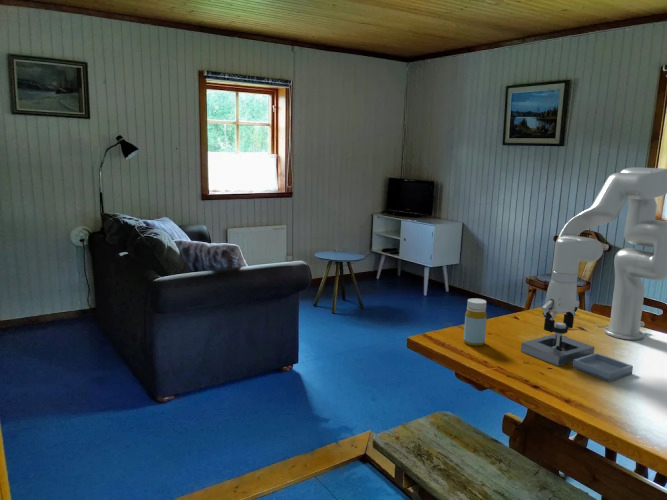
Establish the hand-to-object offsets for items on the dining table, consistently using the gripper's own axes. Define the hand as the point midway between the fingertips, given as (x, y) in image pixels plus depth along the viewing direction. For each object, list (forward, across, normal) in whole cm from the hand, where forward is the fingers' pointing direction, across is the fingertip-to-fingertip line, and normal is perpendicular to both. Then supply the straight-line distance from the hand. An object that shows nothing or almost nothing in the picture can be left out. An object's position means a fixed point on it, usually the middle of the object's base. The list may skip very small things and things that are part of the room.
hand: (558, 329), depth 168 cm
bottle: (+9, +16, -20) cm, 27 cm away
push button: (+9, -1, 0) cm, 9 cm away
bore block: (+8, -1, 0) cm, 8 cm away
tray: (+8, -1, +16) cm, 18 cm away
